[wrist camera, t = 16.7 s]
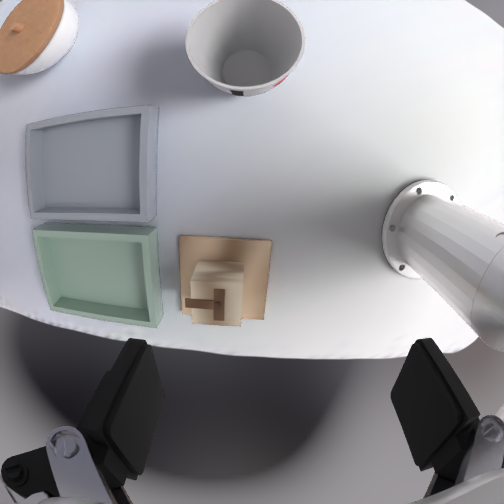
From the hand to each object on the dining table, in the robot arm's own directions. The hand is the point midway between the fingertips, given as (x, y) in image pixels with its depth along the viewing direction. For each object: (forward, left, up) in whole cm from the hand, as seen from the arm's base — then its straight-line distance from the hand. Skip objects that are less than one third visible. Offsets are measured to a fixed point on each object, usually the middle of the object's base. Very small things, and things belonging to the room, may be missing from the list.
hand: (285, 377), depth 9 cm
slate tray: (+20, -5, -22) cm, 30 cm away
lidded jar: (+27, -22, -23) cm, 41 cm away
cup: (+3, -15, -23) cm, 27 cm away
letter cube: (+4, +8, -22) cm, 23 cm away
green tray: (+20, +8, -22) cm, 31 cm away
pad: (+4, +8, -22) cm, 24 cm away
